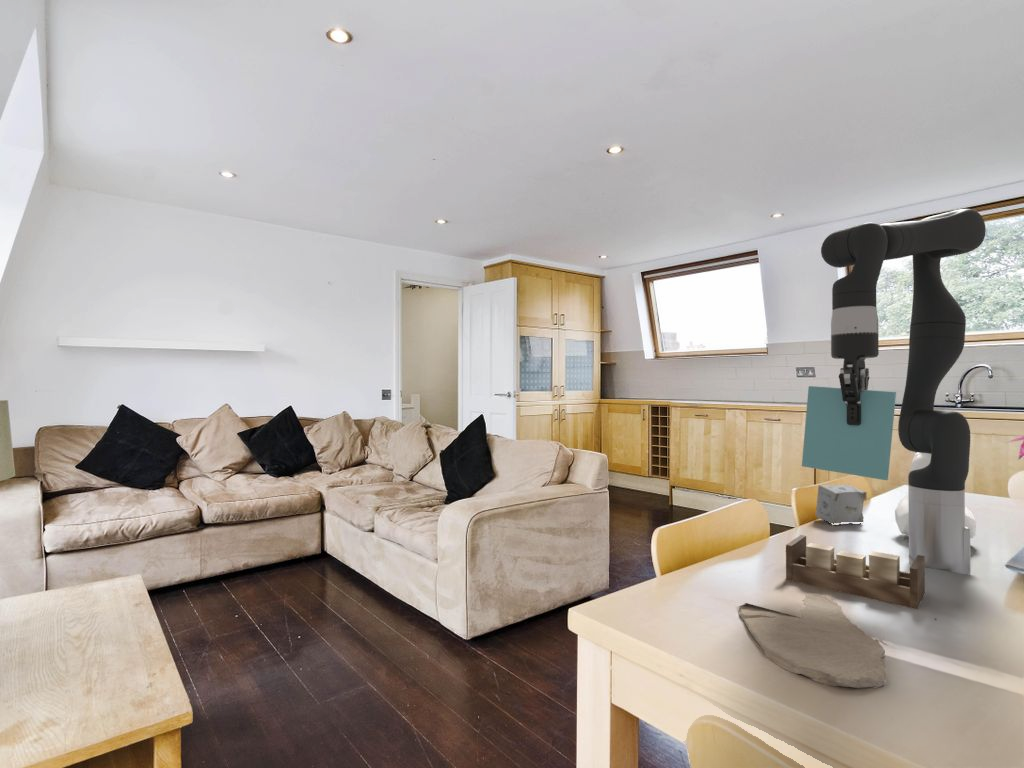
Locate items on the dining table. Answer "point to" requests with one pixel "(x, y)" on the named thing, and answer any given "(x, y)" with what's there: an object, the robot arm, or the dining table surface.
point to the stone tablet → (818, 643)
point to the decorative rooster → (903, 506)
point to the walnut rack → (857, 579)
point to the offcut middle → (851, 564)
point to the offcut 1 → (820, 556)
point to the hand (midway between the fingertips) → (855, 424)
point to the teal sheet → (848, 433)
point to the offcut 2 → (884, 567)
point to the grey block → (840, 503)
